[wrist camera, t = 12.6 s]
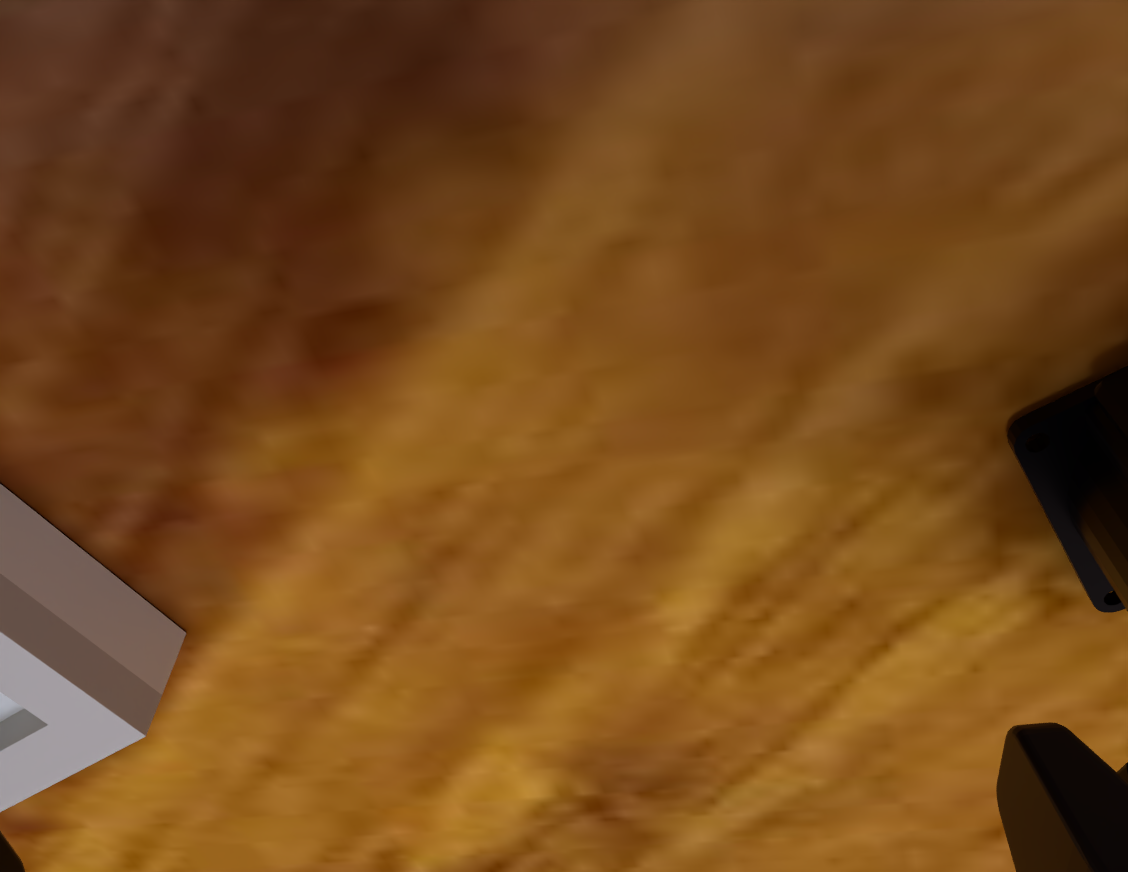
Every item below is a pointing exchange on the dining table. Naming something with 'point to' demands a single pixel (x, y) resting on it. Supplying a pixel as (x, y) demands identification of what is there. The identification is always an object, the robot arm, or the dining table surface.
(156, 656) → the display plinth
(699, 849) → the dining table surface
